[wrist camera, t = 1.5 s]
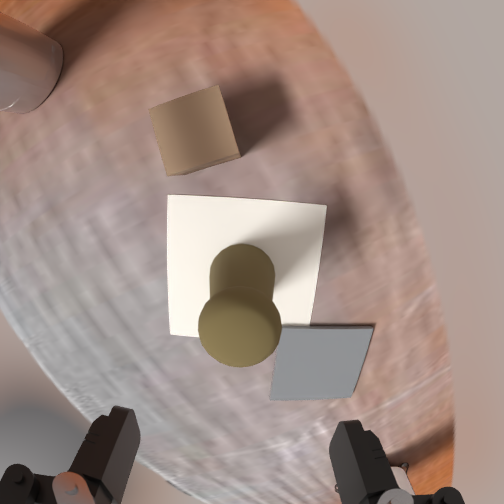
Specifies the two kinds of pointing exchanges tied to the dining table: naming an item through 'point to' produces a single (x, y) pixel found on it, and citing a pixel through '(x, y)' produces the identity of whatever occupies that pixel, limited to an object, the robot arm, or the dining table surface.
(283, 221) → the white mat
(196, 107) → the walnut block
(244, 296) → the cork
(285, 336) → the slate coaster
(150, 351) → the dining table surface
